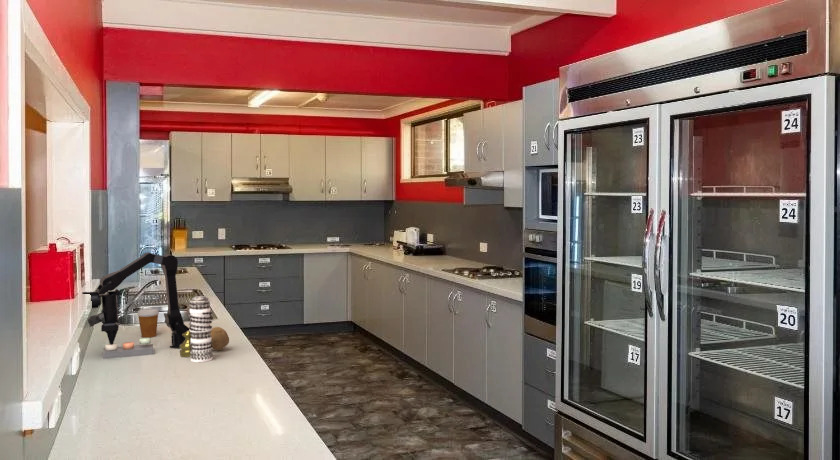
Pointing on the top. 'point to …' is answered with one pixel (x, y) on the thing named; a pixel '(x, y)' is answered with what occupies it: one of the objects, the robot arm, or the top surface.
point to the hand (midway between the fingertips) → (111, 344)
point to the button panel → (129, 351)
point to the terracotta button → (128, 345)
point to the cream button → (111, 347)
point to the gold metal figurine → (186, 345)
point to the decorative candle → (200, 329)
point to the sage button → (145, 341)
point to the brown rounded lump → (219, 338)
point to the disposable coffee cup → (148, 322)
